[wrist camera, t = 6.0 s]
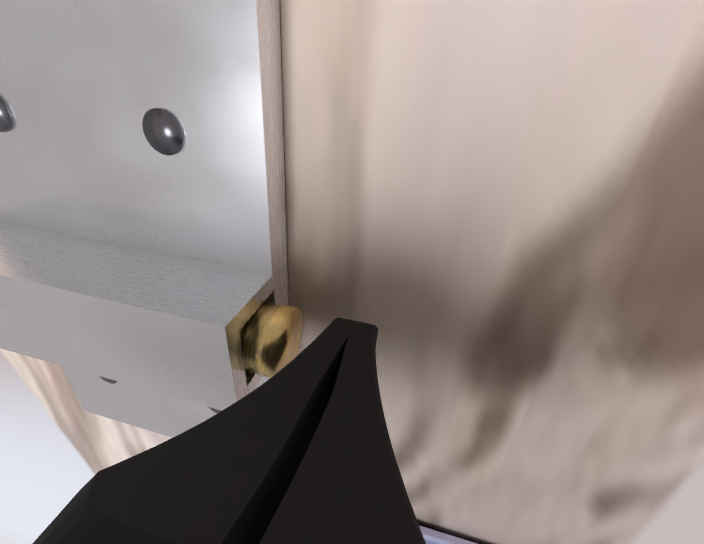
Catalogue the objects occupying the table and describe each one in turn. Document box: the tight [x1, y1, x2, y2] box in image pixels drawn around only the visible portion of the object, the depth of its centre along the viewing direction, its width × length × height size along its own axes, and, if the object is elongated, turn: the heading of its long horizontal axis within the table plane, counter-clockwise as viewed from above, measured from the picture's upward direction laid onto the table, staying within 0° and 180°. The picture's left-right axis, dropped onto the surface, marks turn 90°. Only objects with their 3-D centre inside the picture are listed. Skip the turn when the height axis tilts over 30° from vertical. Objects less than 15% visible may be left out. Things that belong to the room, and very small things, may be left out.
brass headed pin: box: [240, 302, 303, 378], centre depth 12 cm, size 13×2×2 cm, turn 86°
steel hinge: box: [0, 0, 289, 438], centre depth 12 cm, size 12×20×4 cm, turn 176°
